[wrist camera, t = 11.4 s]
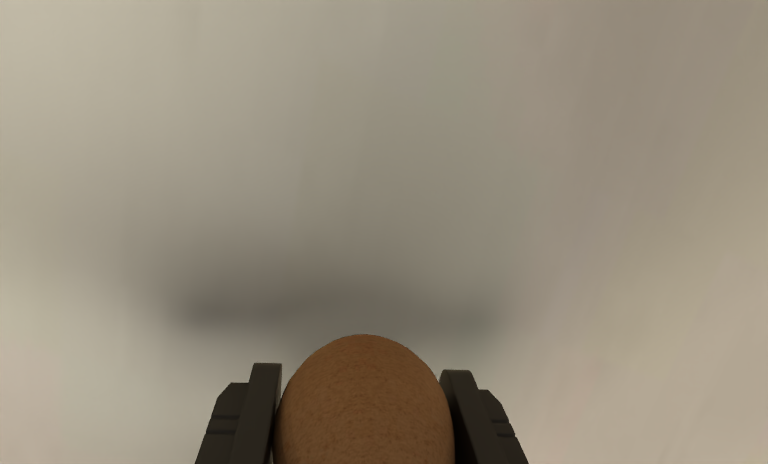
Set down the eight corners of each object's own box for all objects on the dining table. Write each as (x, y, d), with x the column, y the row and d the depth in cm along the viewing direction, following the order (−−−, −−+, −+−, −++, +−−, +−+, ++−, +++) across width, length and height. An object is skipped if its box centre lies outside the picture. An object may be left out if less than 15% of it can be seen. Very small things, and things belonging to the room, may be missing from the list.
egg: (429, 290, 12) (504, 488, 7) (431, 404, 14) (491, 633, 8) (274, 307, 12) (218, 529, 6) (296, 421, 14) (269, 670, 8)
